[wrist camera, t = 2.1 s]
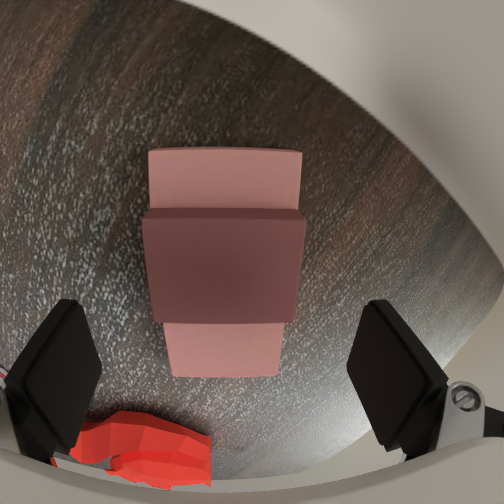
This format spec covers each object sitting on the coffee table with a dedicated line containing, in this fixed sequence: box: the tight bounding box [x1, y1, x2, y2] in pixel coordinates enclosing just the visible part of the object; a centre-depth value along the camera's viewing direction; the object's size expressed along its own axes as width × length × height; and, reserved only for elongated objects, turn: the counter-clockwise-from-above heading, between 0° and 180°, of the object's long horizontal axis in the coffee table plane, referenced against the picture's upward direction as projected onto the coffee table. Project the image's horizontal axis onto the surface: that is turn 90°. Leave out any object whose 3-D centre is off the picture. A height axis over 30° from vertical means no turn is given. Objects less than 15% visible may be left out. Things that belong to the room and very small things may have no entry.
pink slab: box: [141, 147, 307, 378], centre depth 14 cm, size 13×6×3 cm, turn 178°
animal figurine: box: [69, 410, 211, 490], centre depth 19 cm, size 12×15×5 cm
